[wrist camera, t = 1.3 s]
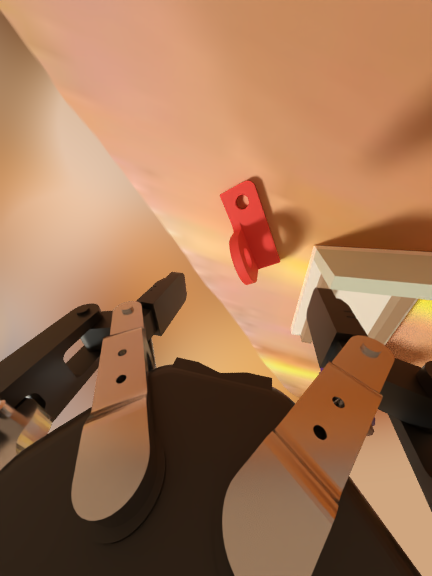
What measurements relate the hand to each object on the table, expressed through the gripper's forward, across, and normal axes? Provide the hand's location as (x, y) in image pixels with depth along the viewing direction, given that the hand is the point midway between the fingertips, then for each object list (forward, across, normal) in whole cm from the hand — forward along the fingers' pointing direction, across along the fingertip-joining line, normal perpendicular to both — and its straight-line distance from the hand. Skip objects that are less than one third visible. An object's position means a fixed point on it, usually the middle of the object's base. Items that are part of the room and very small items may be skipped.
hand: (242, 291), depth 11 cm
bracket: (+18, +1, 0) cm, 18 cm away
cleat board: (+17, -15, +10) cm, 25 cm away
